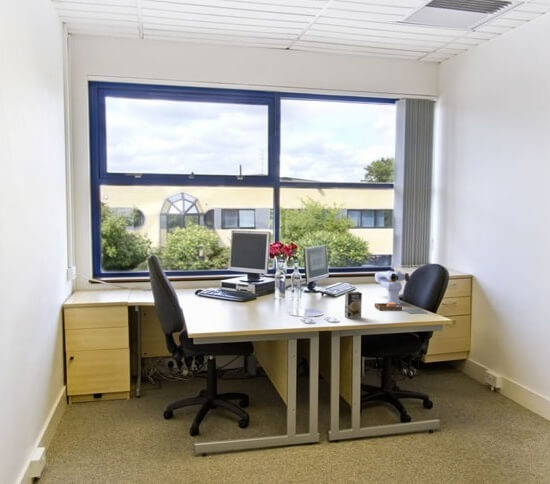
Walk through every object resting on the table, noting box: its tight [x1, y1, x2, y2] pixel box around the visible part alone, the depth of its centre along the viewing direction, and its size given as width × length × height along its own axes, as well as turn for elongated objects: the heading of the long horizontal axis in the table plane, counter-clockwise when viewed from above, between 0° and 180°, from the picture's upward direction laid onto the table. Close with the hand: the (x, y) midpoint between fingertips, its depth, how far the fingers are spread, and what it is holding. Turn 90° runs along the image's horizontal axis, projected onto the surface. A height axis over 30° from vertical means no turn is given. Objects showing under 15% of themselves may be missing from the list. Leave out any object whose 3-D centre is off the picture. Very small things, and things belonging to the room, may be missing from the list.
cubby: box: [374, 302, 403, 312], centre depth 336 cm, size 12×16×2 cm
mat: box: [402, 308, 428, 315], centre depth 328 cm, size 12×12×1 cm
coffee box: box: [344, 291, 363, 320], centre depth 309 cm, size 9×6×16 cm
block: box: [386, 302, 396, 307], centre depth 336 cm, size 5×5×4 cm
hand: (403, 277), depth 332 cm, fingers open, 7 cm apart
